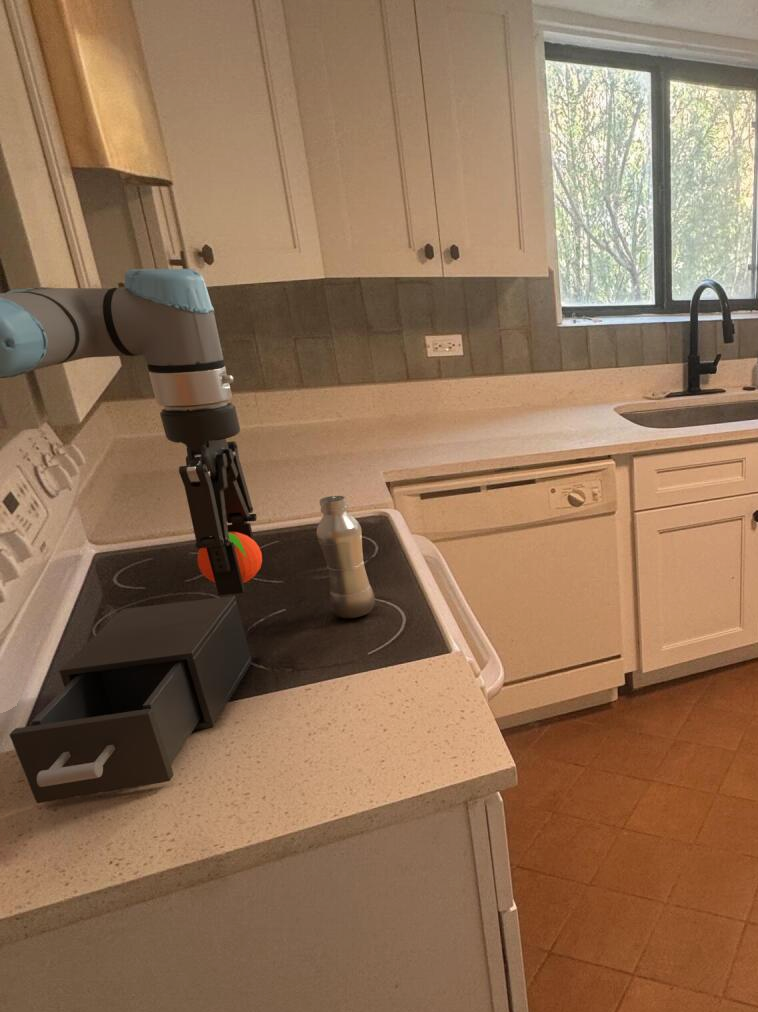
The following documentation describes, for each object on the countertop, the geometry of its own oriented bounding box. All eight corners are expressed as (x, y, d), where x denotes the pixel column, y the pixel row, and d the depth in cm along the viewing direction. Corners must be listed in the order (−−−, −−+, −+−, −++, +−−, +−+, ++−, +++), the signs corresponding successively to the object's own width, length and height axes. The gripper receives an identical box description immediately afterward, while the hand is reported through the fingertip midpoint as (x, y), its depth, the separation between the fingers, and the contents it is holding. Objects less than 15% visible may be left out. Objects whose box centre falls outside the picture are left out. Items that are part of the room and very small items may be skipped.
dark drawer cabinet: (213, 727, 99) (192, 652, 95) (86, 746, 95) (58, 670, 91) (252, 661, 115) (235, 595, 111) (144, 676, 111) (122, 608, 107)
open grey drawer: (152, 810, 83) (128, 739, 80) (10, 835, 79) (-20, 762, 76) (217, 704, 102) (200, 644, 99) (105, 720, 99) (83, 659, 96)
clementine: (282, 582, 102) (271, 530, 99) (225, 601, 96) (211, 547, 94) (250, 569, 106) (239, 519, 103) (193, 586, 100) (180, 534, 98)
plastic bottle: (361, 602, 133) (338, 490, 126) (386, 611, 130) (364, 496, 123) (325, 617, 128) (299, 501, 121) (350, 626, 125) (325, 508, 118)
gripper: (206, 419, 85) (252, 609, 93) (254, 390, 103) (290, 551, 111) (125, 423, 83) (179, 617, 91) (189, 393, 101) (230, 557, 109)
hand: (240, 581), depth 101 cm, fingers closed on clementine, 7 cm apart
